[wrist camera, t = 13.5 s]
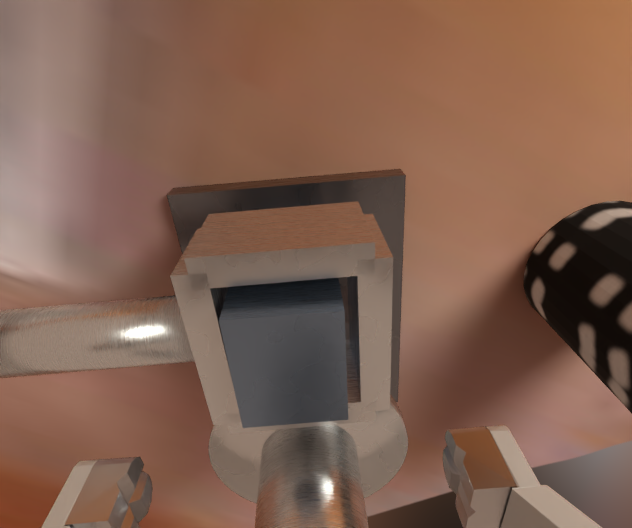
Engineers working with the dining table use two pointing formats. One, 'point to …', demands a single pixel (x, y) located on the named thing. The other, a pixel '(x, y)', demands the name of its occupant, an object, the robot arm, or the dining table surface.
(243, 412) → the brushed metal block
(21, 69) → the dining table surface
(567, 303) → the spotted tube
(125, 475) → the robot arm
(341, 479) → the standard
